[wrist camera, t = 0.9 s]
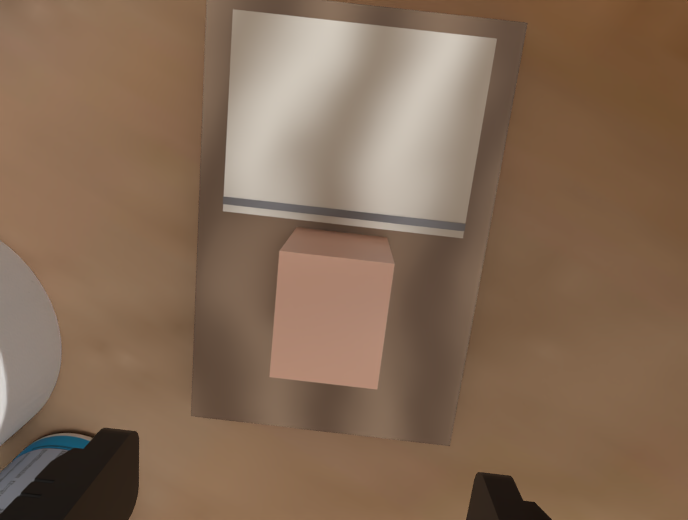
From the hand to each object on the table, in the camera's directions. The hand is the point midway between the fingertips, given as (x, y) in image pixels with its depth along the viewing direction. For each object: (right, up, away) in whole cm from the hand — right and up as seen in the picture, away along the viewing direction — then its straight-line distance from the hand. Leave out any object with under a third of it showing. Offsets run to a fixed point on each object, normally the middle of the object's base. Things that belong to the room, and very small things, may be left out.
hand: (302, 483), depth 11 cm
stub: (+1, +4, +16) cm, 16 cm away
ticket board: (+1, +7, +17) cm, 18 cm away
